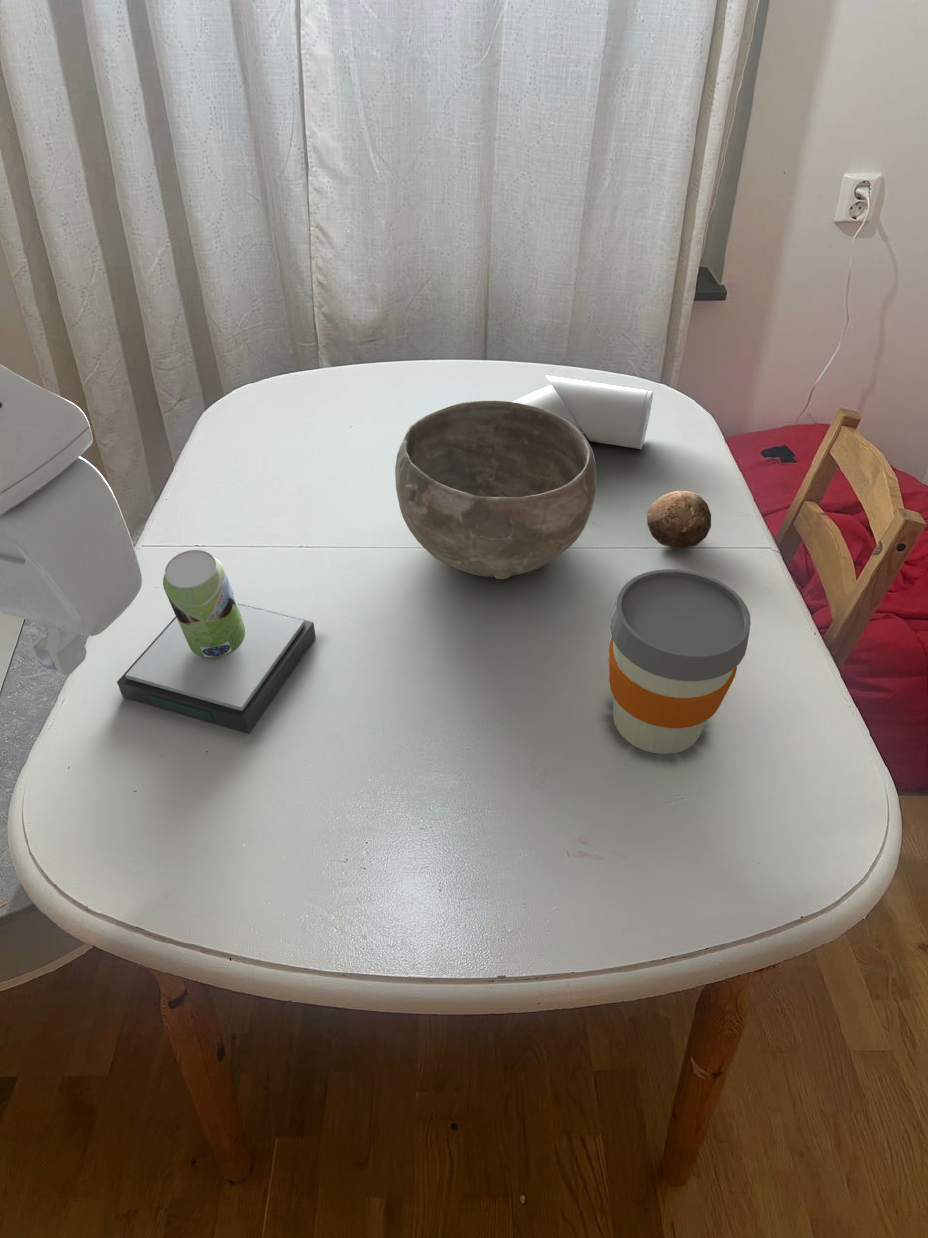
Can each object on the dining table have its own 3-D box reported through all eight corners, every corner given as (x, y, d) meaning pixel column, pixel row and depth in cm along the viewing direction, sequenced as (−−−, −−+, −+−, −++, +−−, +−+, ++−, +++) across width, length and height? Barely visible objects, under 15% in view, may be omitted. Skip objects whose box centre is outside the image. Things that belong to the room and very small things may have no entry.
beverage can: (250, 623, 94) (230, 534, 86) (242, 670, 88) (220, 581, 80) (192, 625, 93) (166, 537, 85) (180, 674, 88) (152, 584, 80)
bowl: (479, 639, 96) (481, 531, 86) (358, 539, 110) (348, 436, 100) (625, 555, 108) (642, 452, 98) (498, 474, 121) (502, 376, 111)
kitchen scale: (122, 698, 89) (114, 678, 87) (200, 608, 100) (195, 588, 98) (248, 734, 86) (243, 715, 84) (316, 637, 96) (313, 617, 94)
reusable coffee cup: (626, 781, 82) (649, 671, 72) (577, 689, 91) (592, 580, 80) (742, 752, 84) (781, 643, 74) (683, 665, 93) (711, 557, 83)
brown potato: (664, 487, 113) (677, 470, 107) (713, 522, 113) (729, 508, 106) (629, 532, 112) (640, 518, 106) (679, 569, 111) (692, 557, 105)
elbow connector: (577, 391, 138) (487, 432, 128) (595, 334, 129) (500, 373, 119) (658, 454, 131) (570, 503, 121) (683, 398, 123) (590, 446, 113)
